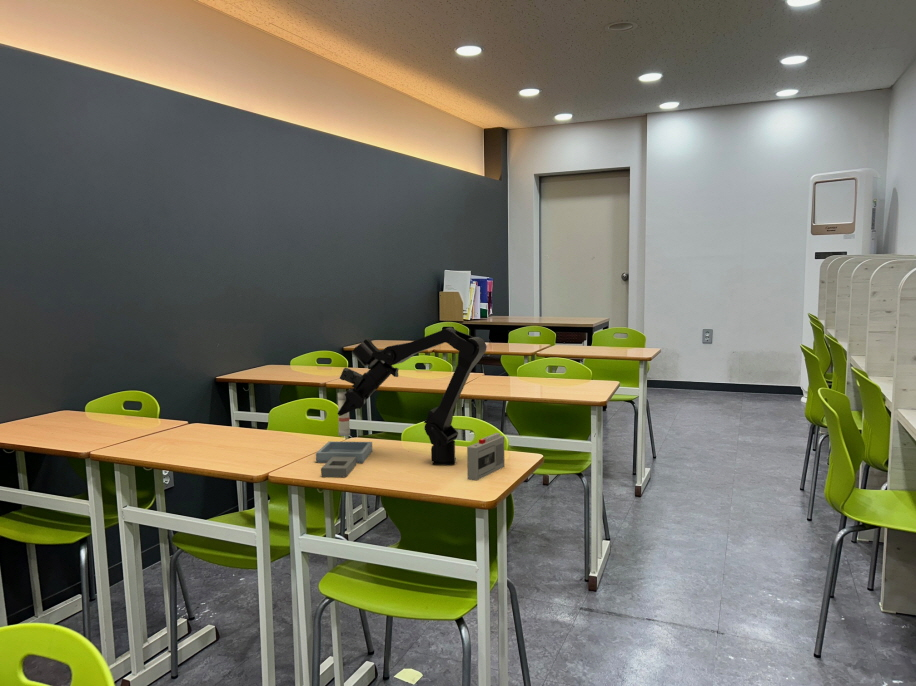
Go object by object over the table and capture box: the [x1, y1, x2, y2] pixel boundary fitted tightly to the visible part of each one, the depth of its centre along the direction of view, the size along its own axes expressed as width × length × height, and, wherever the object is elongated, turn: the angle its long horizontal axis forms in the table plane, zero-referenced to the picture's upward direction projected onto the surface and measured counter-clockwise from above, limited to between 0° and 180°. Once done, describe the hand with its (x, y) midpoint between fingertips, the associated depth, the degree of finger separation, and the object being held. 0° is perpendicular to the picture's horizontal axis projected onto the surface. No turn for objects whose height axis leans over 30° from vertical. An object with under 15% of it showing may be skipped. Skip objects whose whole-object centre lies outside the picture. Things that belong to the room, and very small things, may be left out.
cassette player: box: [466, 432, 505, 481], centre depth 183 cm, size 16×3×10 cm, turn 147°
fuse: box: [337, 391, 351, 437], centre depth 200 cm, size 3×3×13 cm
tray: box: [315, 440, 373, 464], centre depth 201 cm, size 14×14×3 cm
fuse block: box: [320, 457, 357, 478], centre depth 186 cm, size 7×12×2 cm, turn 176°
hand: (339, 413), depth 200 cm, fingers closed on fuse, 3 cm apart
